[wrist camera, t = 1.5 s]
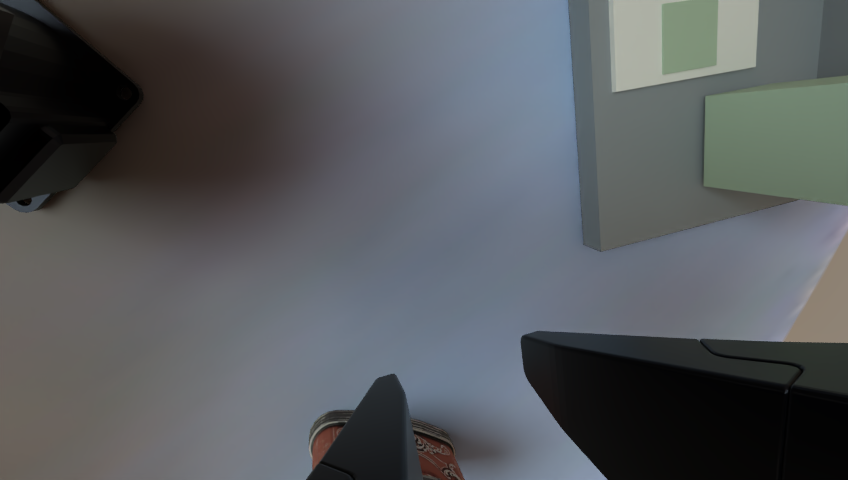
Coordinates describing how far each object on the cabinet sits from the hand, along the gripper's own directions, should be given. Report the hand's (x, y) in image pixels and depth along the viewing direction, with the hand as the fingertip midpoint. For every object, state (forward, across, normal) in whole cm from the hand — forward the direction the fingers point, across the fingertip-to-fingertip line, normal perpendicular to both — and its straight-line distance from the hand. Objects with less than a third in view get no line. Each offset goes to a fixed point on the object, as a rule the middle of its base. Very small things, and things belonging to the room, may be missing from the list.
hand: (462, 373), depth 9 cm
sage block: (+10, +19, +2) cm, 22 cm away
